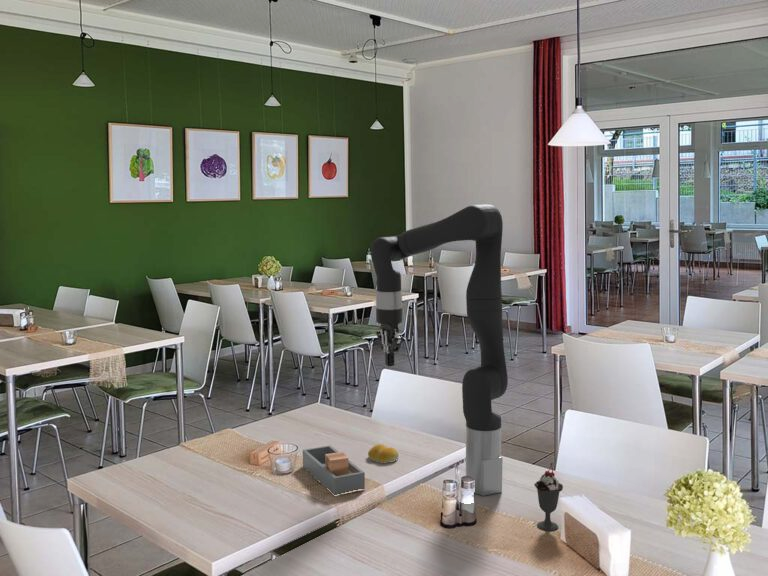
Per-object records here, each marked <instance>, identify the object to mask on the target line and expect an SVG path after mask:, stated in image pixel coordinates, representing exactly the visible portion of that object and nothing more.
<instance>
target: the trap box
mask: <svg viewBox="0 0 768 576" xmlns="http://www.w3.org/2000/svg"><path fill="white" fill-rule="evenodd" d="M338 452H339V451H338V450H337V449H335V448H334V447H333V446H332V445H330V444H329V445H325V446H324V445H323V446H317V447H312V448H307V449H302V468H304V469H305V470H306V469H307V470H308V471H309V472H310V473H311V474H312V475H313V476H314V477H313V476H312V475H311V474H310V473H309V472H308V471H307V470H306V471H307V472H308V473H309V474H310V475H311V476H312V477H313V478H315V477H316V478H315V480H317V479H318V480H319V481H320V482H321V483H322V484H323V485H324V486H325V487H326V488H328V489H329V490H330V491H331V492H332V493H333V494H334V495H337V494H341V493H345V492H349V491H353V490H358V489H365V490H366V486H365V482H366V481H365V480H366V479H365V478H366V475H365V471H364V470H362V469H361V468H360V467H358V466H357V465H356V464H355V463H353V462H352V461H351V460H349V459H348V474H347V475H342V476H337V477H336V476H335V475H334V474H333V473H331V472H330V471H329V470H328V469H327V468H326V467H325V454H331V453H338ZM318 480H317V481H318ZM319 481H318V482H319ZM320 482H319V483H320ZM321 483H320V484H321ZM322 484H321V485H322ZM323 485H322V486H323ZM324 486H323V487H324ZM325 487H324V488H325ZM326 488H325V489H326ZM332 493H331V494H332ZM333 494H332V495H333ZM334 495H333V496H334Z"/></svg>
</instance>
